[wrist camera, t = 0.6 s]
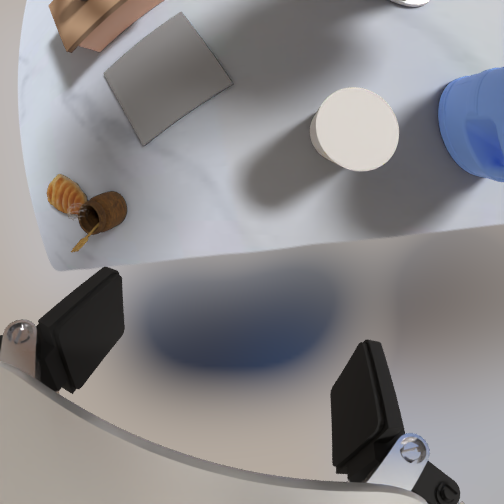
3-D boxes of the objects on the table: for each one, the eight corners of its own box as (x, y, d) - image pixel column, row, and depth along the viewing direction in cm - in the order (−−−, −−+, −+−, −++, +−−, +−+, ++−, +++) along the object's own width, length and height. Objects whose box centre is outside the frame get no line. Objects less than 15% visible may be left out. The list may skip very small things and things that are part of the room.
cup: (308, 159, 35) (314, 166, 24) (310, 101, 32) (316, 82, 21) (366, 165, 34) (395, 176, 23) (369, 108, 31) (399, 95, 20)
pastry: (93, 187, 42) (79, 192, 38) (87, 221, 45) (74, 227, 41) (60, 171, 42) (47, 175, 38) (56, 203, 44) (43, 208, 41)
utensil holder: (123, 186, 41) (75, 204, 30) (132, 223, 43) (87, 250, 32) (98, 193, 42) (50, 212, 31) (106, 228, 44) (62, 253, 33)
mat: (182, 12, 29) (181, 11, 28) (233, 84, 33) (232, 83, 32) (105, 73, 34) (103, 73, 33) (144, 145, 38) (143, 145, 37)
